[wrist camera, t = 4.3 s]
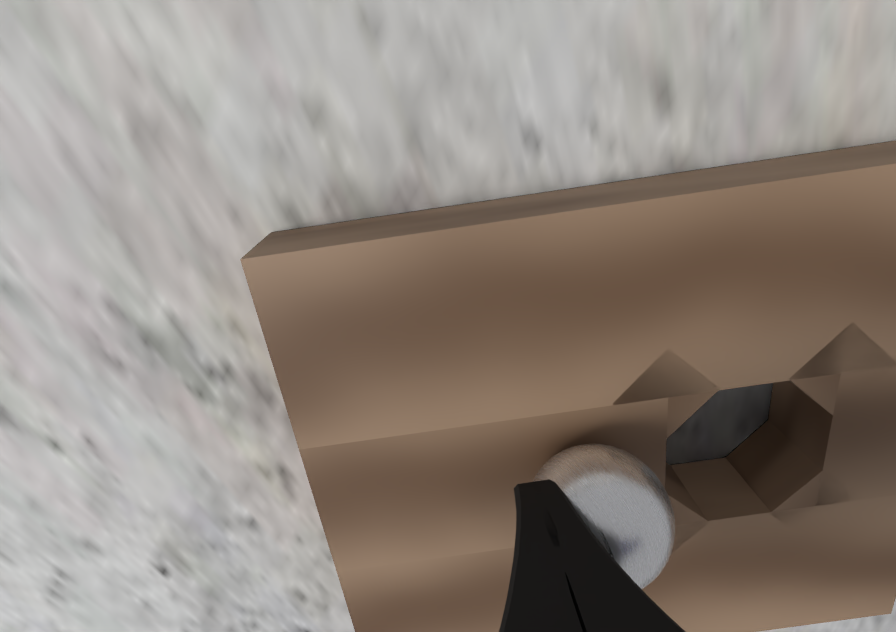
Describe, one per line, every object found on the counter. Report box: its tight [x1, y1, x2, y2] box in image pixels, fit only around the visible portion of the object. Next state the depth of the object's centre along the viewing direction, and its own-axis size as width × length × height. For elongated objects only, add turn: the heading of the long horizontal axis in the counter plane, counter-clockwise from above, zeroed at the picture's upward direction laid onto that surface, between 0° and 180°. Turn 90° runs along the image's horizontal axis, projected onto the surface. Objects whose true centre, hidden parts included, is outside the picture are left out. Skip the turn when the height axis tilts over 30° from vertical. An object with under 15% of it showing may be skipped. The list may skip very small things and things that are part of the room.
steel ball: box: [533, 444, 675, 589], centre depth 13 cm, size 4×4×4 cm
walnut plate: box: [240, 141, 896, 632], centre depth 15 cm, size 15×18×2 cm
